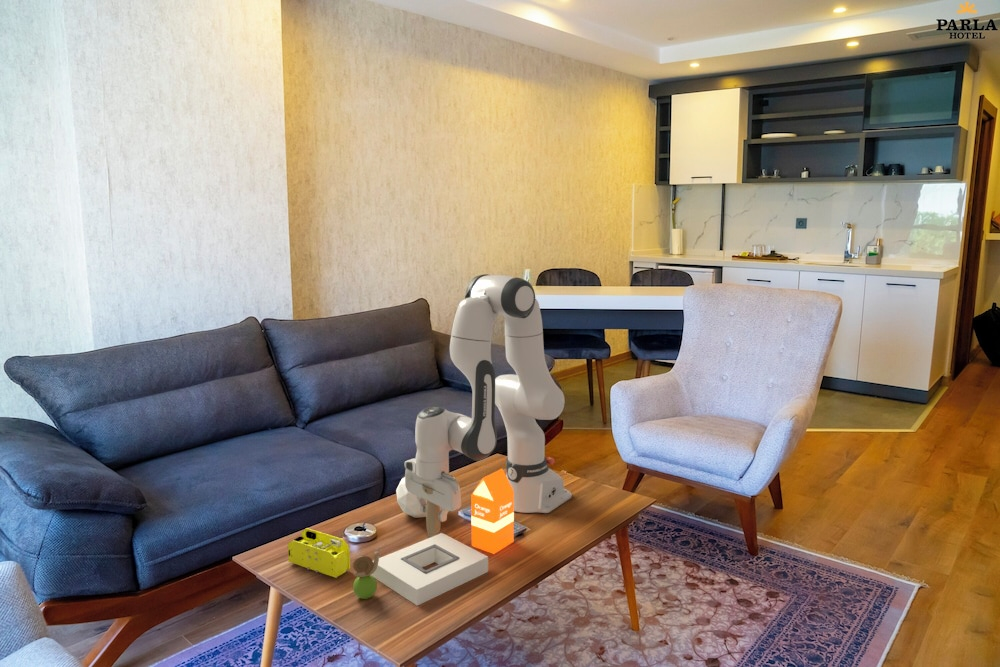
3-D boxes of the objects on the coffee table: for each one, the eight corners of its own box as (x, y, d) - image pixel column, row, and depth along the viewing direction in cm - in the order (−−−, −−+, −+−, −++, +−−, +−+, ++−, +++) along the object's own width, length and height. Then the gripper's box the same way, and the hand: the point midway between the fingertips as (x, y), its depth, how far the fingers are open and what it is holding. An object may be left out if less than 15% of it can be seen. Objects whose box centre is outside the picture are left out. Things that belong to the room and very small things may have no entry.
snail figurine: (383, 600, 167) (381, 552, 164) (354, 605, 165) (352, 556, 163) (380, 588, 172) (378, 541, 170) (352, 592, 170) (350, 545, 168)
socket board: (442, 546, 192) (441, 531, 192) (488, 571, 180) (488, 555, 179) (372, 576, 177) (371, 560, 177) (417, 605, 165) (416, 588, 164)
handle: (434, 543, 194) (433, 491, 191) (419, 535, 199) (418, 484, 196) (448, 538, 197) (447, 486, 195) (433, 530, 202) (432, 479, 199)
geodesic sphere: (457, 503, 206) (443, 458, 211) (413, 514, 199) (399, 467, 204) (439, 517, 217) (426, 474, 222) (397, 528, 210) (384, 483, 215)
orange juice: (471, 545, 193) (470, 474, 189) (491, 533, 200) (491, 464, 196) (494, 554, 188) (494, 481, 185) (514, 541, 195) (514, 471, 192)
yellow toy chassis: (351, 571, 180) (350, 540, 179) (335, 581, 175) (334, 549, 174) (304, 555, 188) (302, 525, 187) (287, 565, 183) (286, 534, 182)
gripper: (466, 474, 189) (467, 524, 192) (418, 455, 204) (419, 501, 206) (448, 481, 185) (448, 531, 187) (400, 460, 199) (401, 507, 202)
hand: (433, 515), depth 197 cm, fingers open, 7 cm apart
